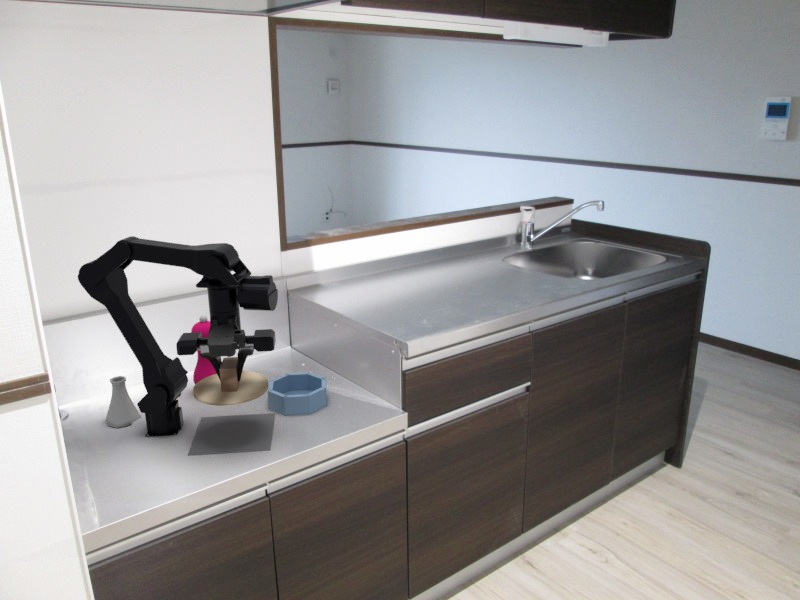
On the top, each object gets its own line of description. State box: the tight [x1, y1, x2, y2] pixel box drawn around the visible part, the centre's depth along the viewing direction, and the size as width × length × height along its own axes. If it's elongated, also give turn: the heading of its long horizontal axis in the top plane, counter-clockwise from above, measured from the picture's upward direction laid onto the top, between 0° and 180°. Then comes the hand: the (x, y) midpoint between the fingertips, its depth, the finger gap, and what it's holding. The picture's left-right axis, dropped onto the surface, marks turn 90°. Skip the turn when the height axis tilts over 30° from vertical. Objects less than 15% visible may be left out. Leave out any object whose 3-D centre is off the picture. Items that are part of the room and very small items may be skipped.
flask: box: [105, 375, 142, 429], centre depth 139 cm, size 7×7×10 cm
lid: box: [192, 356, 269, 407], centre depth 130 cm, size 15×15×6 cm
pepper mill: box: [190, 314, 217, 386], centre depth 150 cm, size 7×7×20 cm
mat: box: [187, 412, 276, 457], centre depth 134 cm, size 16×16×1 cm
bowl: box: [267, 372, 328, 417], centre depth 147 cm, size 13×13×5 cm
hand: (230, 380), depth 130 cm, fingers closed on lid, 3 cm apart
